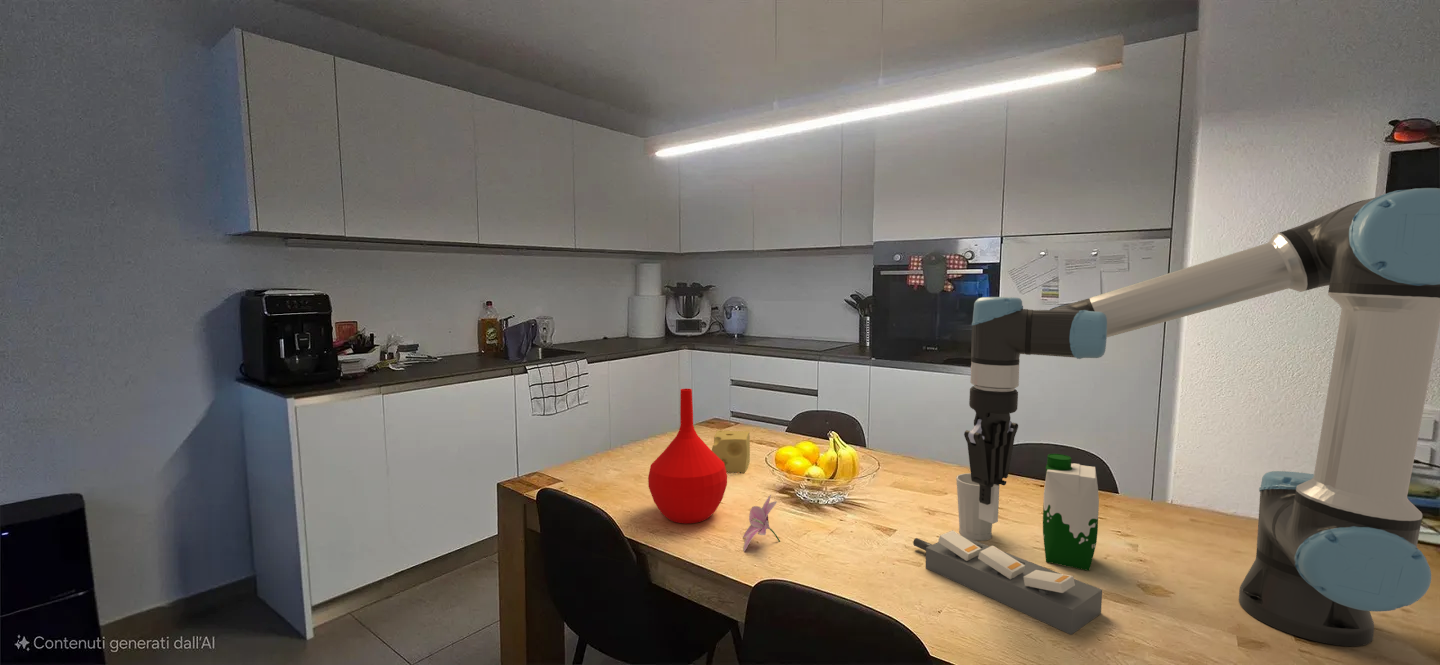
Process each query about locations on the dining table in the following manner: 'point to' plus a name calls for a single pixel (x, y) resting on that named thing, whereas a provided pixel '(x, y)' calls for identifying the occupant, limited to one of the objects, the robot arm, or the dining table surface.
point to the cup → (971, 510)
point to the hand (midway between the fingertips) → (988, 520)
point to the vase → (687, 473)
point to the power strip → (1017, 588)
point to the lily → (759, 521)
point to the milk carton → (1070, 512)
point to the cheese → (733, 449)
